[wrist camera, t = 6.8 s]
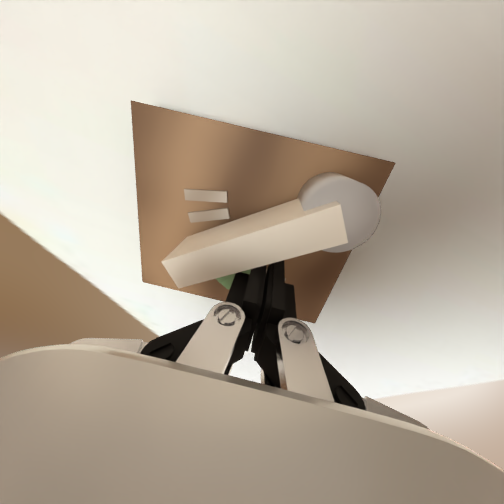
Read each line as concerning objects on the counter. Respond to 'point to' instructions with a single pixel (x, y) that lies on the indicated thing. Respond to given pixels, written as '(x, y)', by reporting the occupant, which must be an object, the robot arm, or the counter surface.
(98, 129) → the counter surface
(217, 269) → the dial needle
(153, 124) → the dial board
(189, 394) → the robot arm
